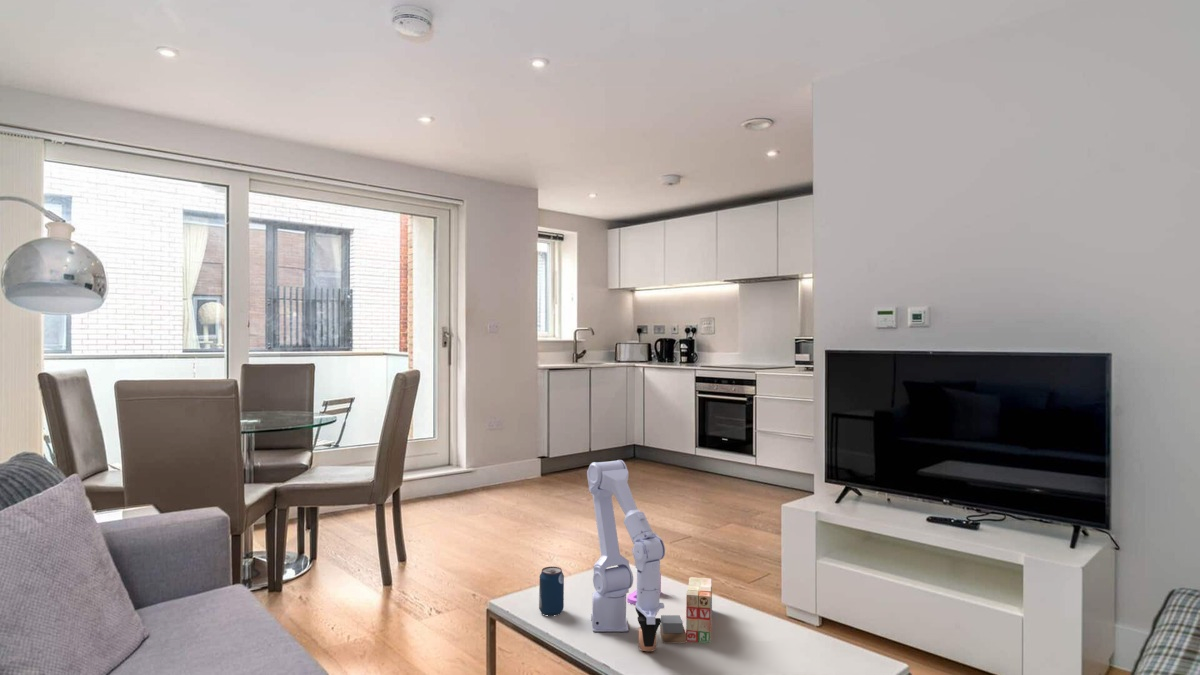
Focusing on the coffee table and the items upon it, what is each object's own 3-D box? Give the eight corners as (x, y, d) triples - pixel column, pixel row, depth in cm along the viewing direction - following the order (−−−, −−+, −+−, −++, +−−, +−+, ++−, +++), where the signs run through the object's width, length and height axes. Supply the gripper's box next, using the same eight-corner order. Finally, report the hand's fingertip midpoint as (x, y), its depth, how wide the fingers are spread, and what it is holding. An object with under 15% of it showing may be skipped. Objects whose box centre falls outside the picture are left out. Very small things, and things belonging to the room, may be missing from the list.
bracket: (644, 589, 201) (645, 566, 201) (660, 592, 198) (660, 570, 198) (623, 602, 190) (624, 579, 190) (640, 607, 187) (640, 583, 187)
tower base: (662, 644, 164) (662, 634, 164) (659, 633, 170) (660, 624, 170) (686, 644, 164) (686, 634, 164) (682, 633, 170) (682, 624, 170)
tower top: (663, 633, 165) (663, 623, 165) (660, 624, 170) (660, 615, 170) (682, 633, 165) (682, 623, 165) (679, 624, 170) (679, 615, 170)
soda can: (568, 611, 183) (569, 569, 183) (551, 619, 177) (551, 575, 178) (551, 605, 187) (551, 564, 187) (533, 612, 182) (534, 570, 182)
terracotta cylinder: (639, 651, 158) (639, 633, 158) (637, 643, 162) (638, 625, 162) (657, 651, 158) (657, 632, 158) (655, 643, 162) (655, 625, 163)
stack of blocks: (690, 608, 186) (690, 566, 186) (712, 610, 185) (712, 567, 185) (685, 641, 165) (686, 593, 165) (710, 644, 164) (710, 595, 164)
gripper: (668, 598, 153) (667, 655, 153) (660, 576, 168) (659, 628, 168) (638, 598, 153) (637, 655, 153) (633, 576, 168) (632, 628, 167)
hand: (647, 641), depth 160 cm, fingers closed on terracotta cylinder, 4 cm apart
